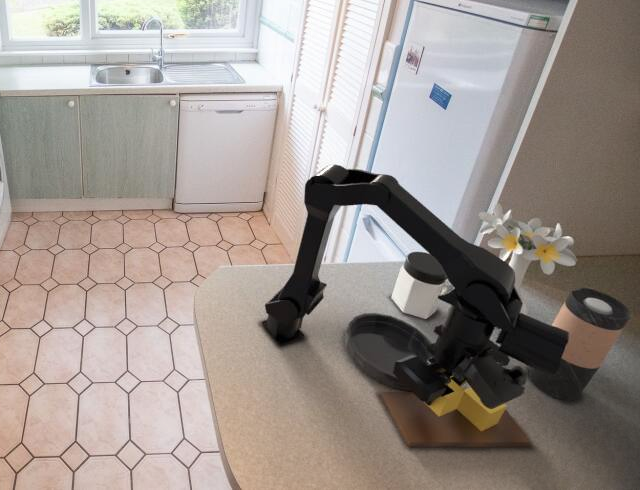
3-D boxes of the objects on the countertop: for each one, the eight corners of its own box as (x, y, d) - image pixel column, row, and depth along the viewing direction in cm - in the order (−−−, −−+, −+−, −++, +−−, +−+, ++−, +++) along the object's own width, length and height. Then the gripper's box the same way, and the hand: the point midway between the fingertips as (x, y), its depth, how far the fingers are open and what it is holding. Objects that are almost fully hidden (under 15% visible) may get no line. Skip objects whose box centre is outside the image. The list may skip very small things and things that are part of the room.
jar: (421, 324, 98) (438, 281, 93) (385, 301, 104) (398, 260, 99) (442, 307, 102) (458, 265, 97) (405, 286, 109) (419, 246, 103)
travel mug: (585, 409, 80) (639, 326, 72) (530, 389, 84) (575, 307, 75) (575, 377, 86) (623, 297, 78) (524, 359, 90) (565, 281, 81)
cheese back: (439, 416, 74) (447, 398, 72) (414, 393, 78) (422, 375, 76) (456, 409, 75) (465, 390, 73) (431, 386, 79) (439, 368, 77)
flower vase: (478, 281, 110) (515, 193, 100) (557, 341, 94) (612, 243, 83) (433, 289, 108) (466, 199, 97) (506, 352, 91) (555, 252, 81)
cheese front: (481, 431, 75) (490, 414, 74) (455, 407, 79) (463, 390, 77) (497, 423, 77) (506, 406, 75) (471, 400, 81) (479, 383, 79)
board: (407, 446, 74) (409, 442, 74) (380, 396, 83) (381, 392, 82) (528, 446, 74) (531, 442, 74) (489, 396, 83) (491, 391, 82)
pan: (391, 403, 81) (395, 391, 80) (326, 336, 95) (329, 324, 94) (455, 376, 86) (460, 364, 85) (385, 316, 100) (388, 305, 99)
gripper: (475, 395, 60) (440, 466, 66) (564, 355, 66) (524, 424, 72) (403, 332, 69) (378, 400, 76) (486, 302, 75) (457, 368, 82)
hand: (436, 399), depth 76 cm, fingers closed on cheese back, 4 cm apart
